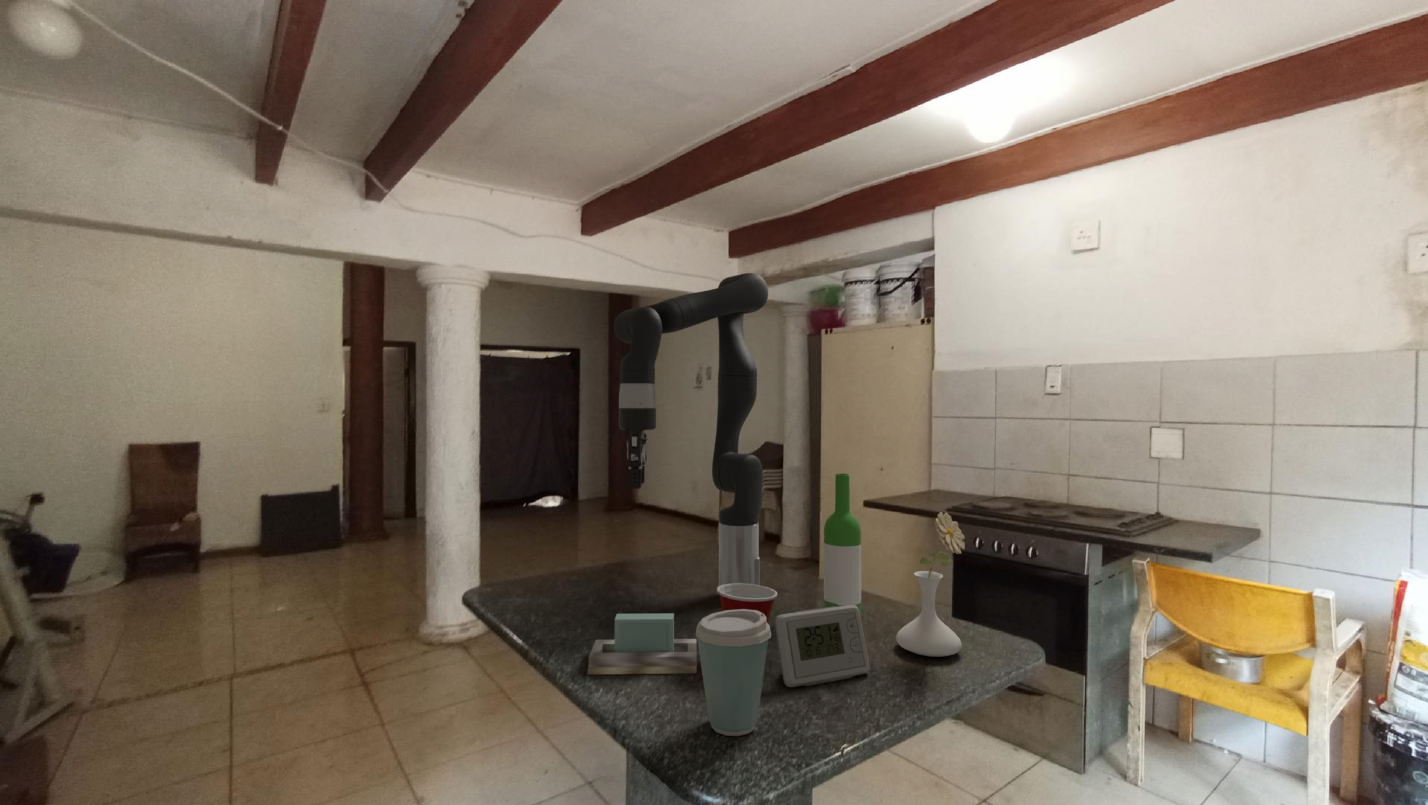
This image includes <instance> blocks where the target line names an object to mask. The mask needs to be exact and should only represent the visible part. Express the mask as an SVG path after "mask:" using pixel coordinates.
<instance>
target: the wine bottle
mask: <svg viewBox="0 0 1428 805" xmlns="http://www.w3.org/2000/svg"><path fill="white" fill-rule="evenodd" d="M834 487H835V490H834V491H835V493H834V494H835V495H834V496H835V498H834V499H835V500H834V502H835V503H834V507H835V508H834V512H832V513H831V515H829V516H828V518H827V519H826V520H825V524H824V527H823V528H824V529H823V608H825V607H832V606H837V607H839V606H847V605H855V606H857V607H858V610H859V614H860V615H861V613H862V529H861V528H862V527H861V525H860V522H859V520H858V518H857V517H856V516H855V515H854V514H853V513H852V512H851V509H850V507H851V505H850V504H851V503H850V501H851V500H850V497H851V496H850V494H851V492H850V474H849V473H836V474H835V486H834Z"/></svg>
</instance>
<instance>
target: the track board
mask: <svg viewBox="0 0 1428 805" xmlns="http://www.w3.org/2000/svg"><path fill="white" fill-rule="evenodd" d="M697 650H698V649H697V638H674V652H624V653H615V639H595V641H594V644H593V646H592V648H591V651H590V653H589V656H588V668H587V675H636V674H637V675H645V674H646V675H654V674H655V675H657V674H658V675H659V674H661V675H662V674H666V675H667V674H670V675H671V674H673V675H674V674H697V672H698V671H697V669H698V668H697V667H698V666H697V665H698V664H697V658H698V656H697Z"/></svg>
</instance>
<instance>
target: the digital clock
mask: <svg viewBox="0 0 1428 805" xmlns="http://www.w3.org/2000/svg"><path fill="white" fill-rule="evenodd" d="M774 627H775V634H776V642H777V646H778V647H777V648H778V654H779V660H780V668H781V673H782V679H783V684H784V685H785V686H786V687H789V688H795V687H796V688H797V687H801V686H805V687H810V686H814V685H815V686H816V685H819V684H826V683H830V682H837V681H841V680H847V679H852V678H853V677H854V676H859V675H865V674H867V673H869V671H870V661H869V660H870V659H869V655H868V650H867V646H866V639H865V636H864V635H865V634H864V631H863V625H862V619H861V613H860V614H859V610H858V607H857V606H855V605H847V606H839V607H837V606H832V607H825V608H824V607H820V608H812V609H804V610H797V611H795V612H790V613H789V612H788V613H783V614H782V613H781V614H778V615H777V616H776V617H775V618H774Z"/></svg>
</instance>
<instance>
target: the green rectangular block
mask: <svg viewBox="0 0 1428 805" xmlns="http://www.w3.org/2000/svg"><path fill="white" fill-rule="evenodd" d="M674 634H675V613H674V612H673V613H671V612H670V613H665V612H664V613H616V615H615V617H614V640H615V653H624V652H674V639H675V635H674Z"/></svg>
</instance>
